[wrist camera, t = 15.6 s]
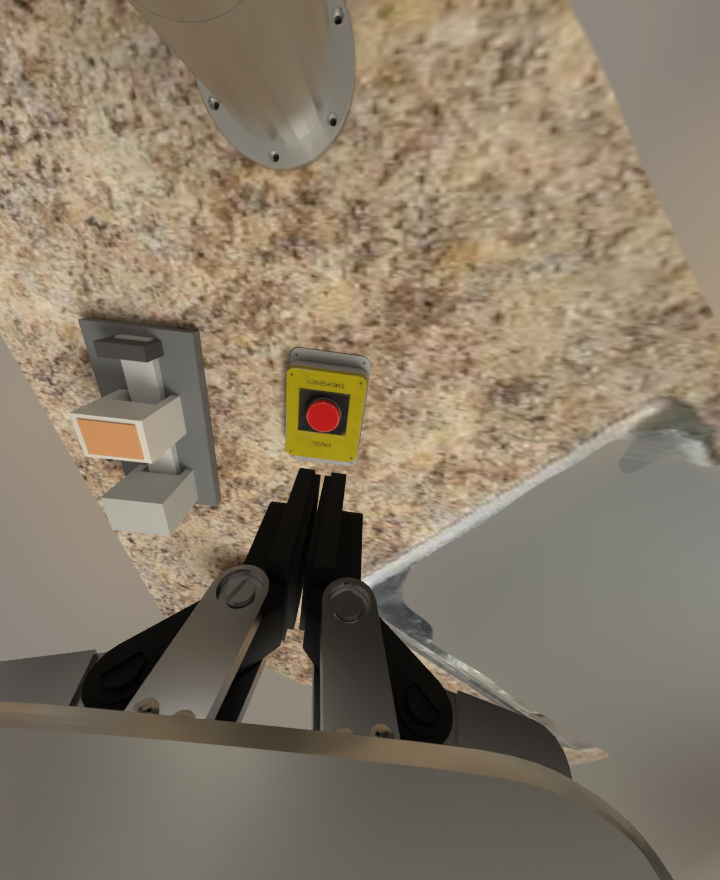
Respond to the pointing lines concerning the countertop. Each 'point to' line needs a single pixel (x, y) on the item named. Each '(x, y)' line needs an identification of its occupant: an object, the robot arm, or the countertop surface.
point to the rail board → (150, 381)
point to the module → (128, 427)
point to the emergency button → (325, 405)
